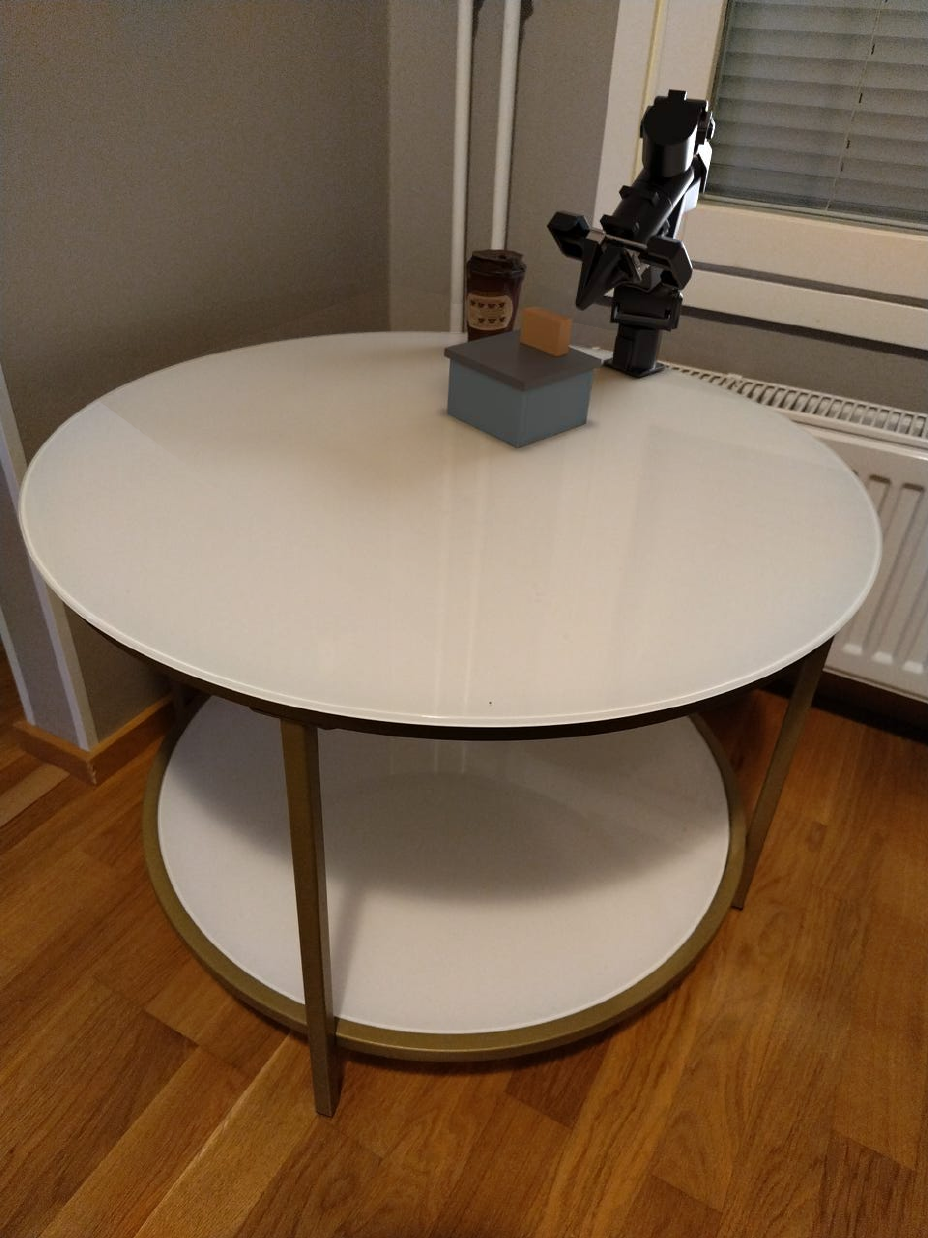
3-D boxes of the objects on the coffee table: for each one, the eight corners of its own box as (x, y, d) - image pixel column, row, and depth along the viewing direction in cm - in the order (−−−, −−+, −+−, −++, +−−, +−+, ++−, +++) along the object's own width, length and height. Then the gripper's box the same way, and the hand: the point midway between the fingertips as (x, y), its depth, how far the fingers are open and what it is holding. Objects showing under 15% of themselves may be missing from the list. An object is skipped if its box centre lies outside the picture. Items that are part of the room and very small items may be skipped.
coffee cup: (513, 361, 120) (522, 264, 113) (455, 354, 121) (460, 257, 114) (522, 342, 127) (531, 249, 120) (467, 335, 128) (473, 242, 121)
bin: (515, 392, 111) (520, 338, 107) (586, 423, 104) (594, 367, 100) (446, 413, 104) (449, 356, 100) (517, 448, 98) (523, 388, 93)
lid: (520, 336, 108) (524, 295, 105) (600, 367, 100) (607, 324, 97) (443, 356, 100) (445, 312, 97) (524, 391, 93) (528, 345, 90)
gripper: (733, 260, 104) (661, 368, 104) (611, 228, 114) (546, 326, 114) (712, 194, 95) (633, 312, 95) (582, 166, 105) (511, 272, 105)
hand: (578, 307), depth 102 cm, fingers closed
